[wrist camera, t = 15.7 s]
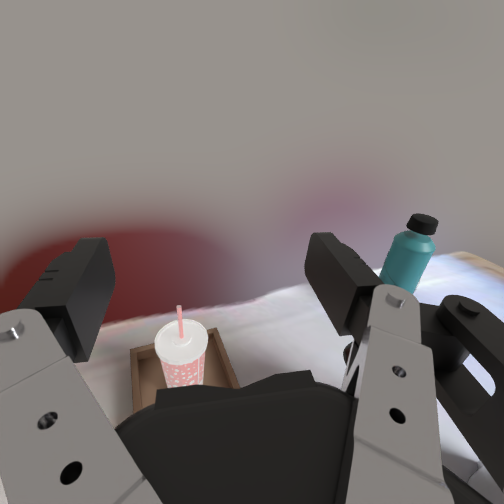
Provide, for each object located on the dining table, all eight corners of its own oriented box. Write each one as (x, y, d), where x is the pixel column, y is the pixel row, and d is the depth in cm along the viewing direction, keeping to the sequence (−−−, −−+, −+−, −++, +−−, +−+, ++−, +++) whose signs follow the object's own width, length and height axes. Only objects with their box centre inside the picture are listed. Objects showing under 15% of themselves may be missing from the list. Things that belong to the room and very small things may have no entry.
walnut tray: (216, 338, 44) (216, 327, 43) (244, 413, 35) (245, 402, 33) (132, 361, 40) (130, 349, 38) (138, 454, 30) (135, 443, 29)
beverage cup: (187, 355, 40) (182, 281, 33) (218, 380, 37) (219, 305, 30) (152, 385, 36) (136, 308, 29) (183, 416, 33) (174, 338, 26)
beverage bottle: (409, 316, 52) (458, 222, 42) (386, 327, 50) (434, 229, 39) (381, 295, 57) (419, 206, 47) (359, 304, 54) (394, 211, 44)
